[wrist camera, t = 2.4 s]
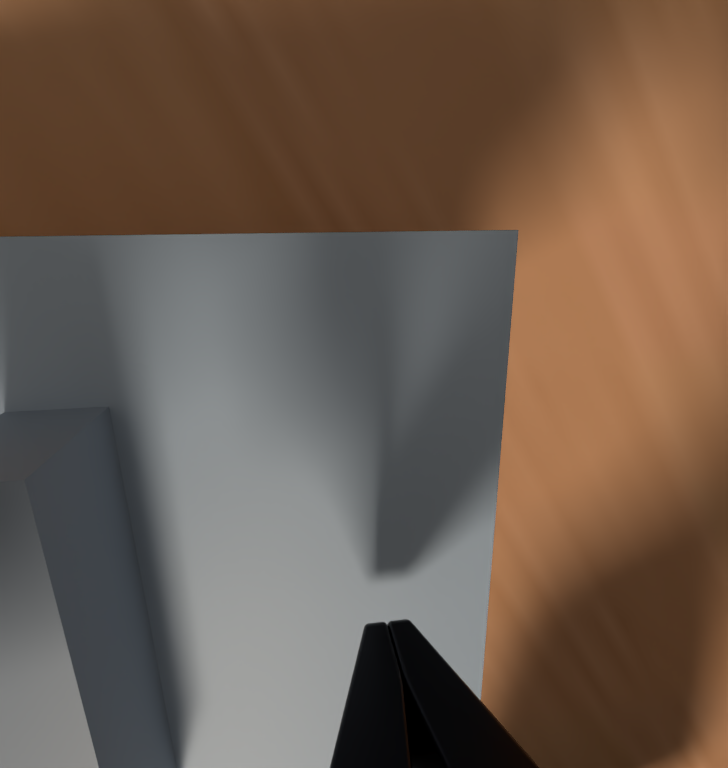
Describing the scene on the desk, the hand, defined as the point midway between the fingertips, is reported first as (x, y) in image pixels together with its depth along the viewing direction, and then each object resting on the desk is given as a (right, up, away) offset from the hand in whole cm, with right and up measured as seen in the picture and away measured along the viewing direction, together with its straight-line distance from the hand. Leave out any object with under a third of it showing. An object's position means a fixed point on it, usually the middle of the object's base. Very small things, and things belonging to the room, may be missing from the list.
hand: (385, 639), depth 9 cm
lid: (-5, 0, +1) cm, 6 cm away
